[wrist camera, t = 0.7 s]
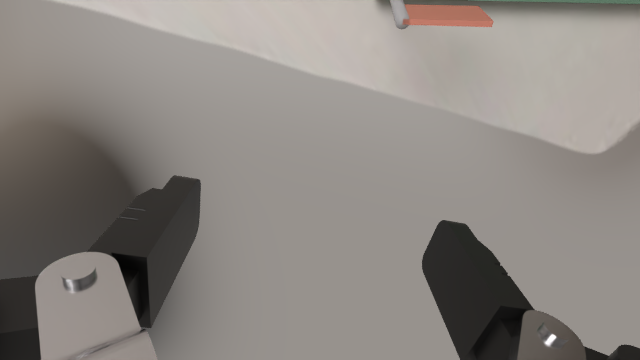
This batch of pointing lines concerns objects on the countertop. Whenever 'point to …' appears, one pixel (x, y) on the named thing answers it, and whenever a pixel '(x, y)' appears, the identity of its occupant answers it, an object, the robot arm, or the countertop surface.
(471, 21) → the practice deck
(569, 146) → the countertop surface
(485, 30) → the countertop surface
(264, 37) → the countertop surface
